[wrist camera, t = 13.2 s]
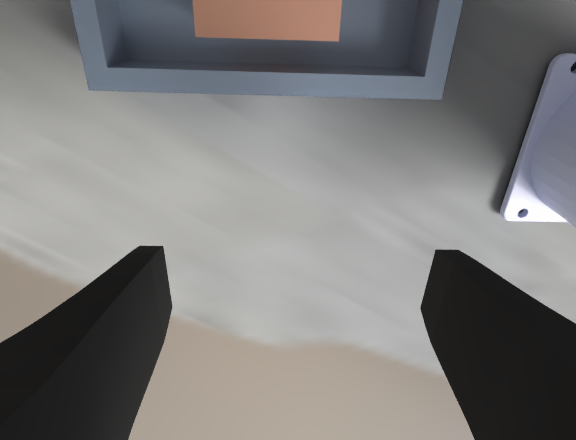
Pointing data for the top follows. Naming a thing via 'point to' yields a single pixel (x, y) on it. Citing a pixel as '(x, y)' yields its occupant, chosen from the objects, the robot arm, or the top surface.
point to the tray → (269, 51)
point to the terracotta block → (268, 19)
